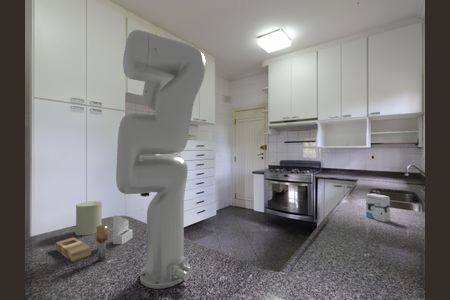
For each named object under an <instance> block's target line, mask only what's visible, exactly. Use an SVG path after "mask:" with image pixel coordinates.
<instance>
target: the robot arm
mask: <svg viewBox="0 0 450 300" xmlns="http://www.w3.org/2000/svg"><path fill="white" fill-rule="evenodd" d="M123 52H124V53H123V57H122V59H123V60H122V67H123V73H124V75H125V77H126V78H128V79H130V80H132V81H133V80H134V81H139V82H144V85H143V91H142V95H141V97H142V101H143V103H144V105H146V107H148V108H150V109H151V110H153V111H155V112H154V113H153V114H150V113H149V114H148V113H141V112H130V113H127V114H126V115H124V116H123V117H122V118H121V120H120V123H119V127H118V133H117V148H116V149H117V151H116V152H117V153H116V167H115V169H116V170H115V171H116V173H115V174H116V175H115V181H116V187H117V190H118V191H119V192H120V193H121V194H124V195H136V194H137V195H138V194H140V196H141V197H149V196H150V193H155V195H154V196H153V198H152V200H150V202H149V204H148V206H147V211H146V265H145V266H144V267H143V268H142V269H141V271H140V273H139V282H140V283H141V284H142V285H143V286H145V287H146V288H149V289H158V290H159V289H161V290H162V289H166V288H171V287H174V286H176V285H178V284H180V283H181V282H188V281H189V279H190V278H191V273H192V272H193V267H192V266H190V264H189V262H188V261H187V257H186V256H184V253H185V252H184V247H185V245H184V243H185V242H184V240H185V237H184V236H185V233H184V231H185V228H184V226H185V225H184V224H185V219H184V218H185V192H186V185H187V179H188V174H189V173H188V165H187V162H186V161H185V160H184V159H183V158H181V157H180V156H177V155H176V154H180V153H182V152H183V151H184V150H185V148H186V147H187V144H188V139H189V133H190V127H191V121H192V115H193V111H194V110H193V109H194V104H195V100H196V98H197V95H198V93H199V91H200V90H201V86H202V84H203V82H204V78H205V75H206V74H205V73H206V59H205V56H204V53H202V51H201V50H200V49H198V48H196V47H195V46H193V45H192V44H191V45H190V44H188V43H185V42H182V41H179V40H176V39H173V38H172V39H171V38H169V37H164V36H161V35H157V34H155V33H151V32H147V31H144V30H140V29H138V30H137V29H135V30H132V31H130V32H129V34H128V35H127V38H126V42H125V46H124V51H123ZM174 154H175V155H176V156H175V155H174Z"/></svg>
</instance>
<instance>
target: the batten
mask: <svg viewBox="0 0 450 300" xmlns="http://www.w3.org/2000/svg"><path fill="white" fill-rule="evenodd" d="M55 251H58V253H60V254H61V255H62V256H64V257H65V258H67V260H69V261H71V263H72V262H76V261H78V260H81V259H83V258H86V257H89V256H91V255H92V247H91V246H90V245H88V244H87V243H84V242H83V241H81V240H79V239H78V238H76V237H74V236H73V237H70V238H66V239H63V240H59V241H56V242H55Z"/></svg>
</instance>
